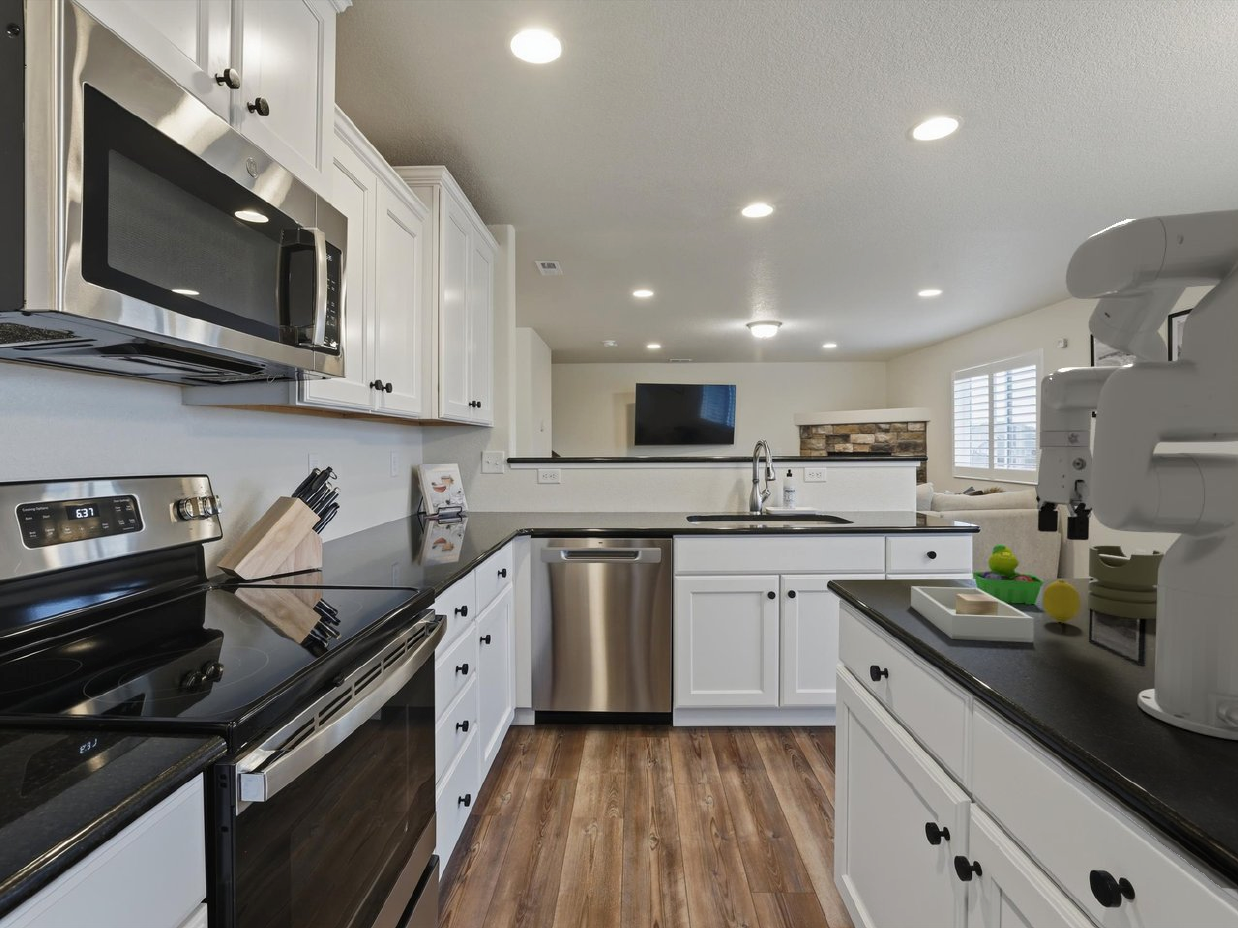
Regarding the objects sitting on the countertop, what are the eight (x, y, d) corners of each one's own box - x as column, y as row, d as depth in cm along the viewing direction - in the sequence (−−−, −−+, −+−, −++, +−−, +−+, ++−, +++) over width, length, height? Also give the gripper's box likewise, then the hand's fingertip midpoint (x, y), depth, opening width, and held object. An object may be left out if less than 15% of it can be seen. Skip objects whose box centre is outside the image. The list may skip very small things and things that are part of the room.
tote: (1033, 642, 103) (1033, 618, 103) (952, 638, 105) (952, 615, 105) (977, 608, 125) (978, 588, 125) (910, 605, 127) (911, 586, 126)
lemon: (1044, 624, 113) (1045, 580, 113) (1040, 617, 118) (1041, 575, 118) (1082, 628, 111) (1083, 584, 111) (1076, 621, 116) (1077, 578, 116)
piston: (1147, 557, 115) (1078, 548, 125) (1145, 621, 115) (1076, 607, 125) (1174, 551, 121) (1106, 543, 130) (1172, 613, 121) (1104, 600, 131)
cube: (966, 628, 109) (966, 600, 109) (955, 620, 114) (956, 593, 114) (997, 630, 108) (998, 601, 108) (985, 622, 113) (985, 594, 113)
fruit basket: (980, 603, 129) (981, 548, 129) (970, 593, 138) (970, 542, 137) (1044, 607, 126) (1045, 551, 125) (1029, 596, 134) (1030, 544, 134)
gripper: (1118, 441, 104) (1115, 543, 105) (1060, 441, 122) (1058, 529, 122) (1069, 441, 106) (1066, 542, 106) (1018, 441, 123) (1016, 528, 123)
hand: (1062, 535), depth 114 cm, fingers open, 9 cm apart
